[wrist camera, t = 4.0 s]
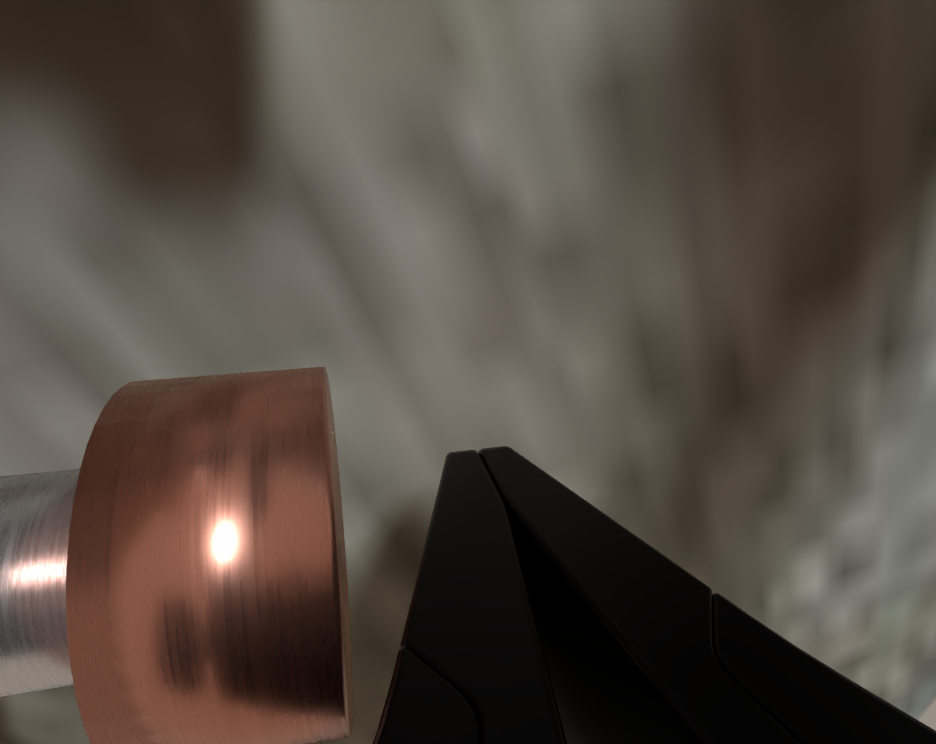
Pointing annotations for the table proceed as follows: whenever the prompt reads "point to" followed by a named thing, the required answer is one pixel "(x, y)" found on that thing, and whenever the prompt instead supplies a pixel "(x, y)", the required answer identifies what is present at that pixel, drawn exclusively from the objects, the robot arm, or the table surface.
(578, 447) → the table surface
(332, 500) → the brick knob
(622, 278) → the table surface
